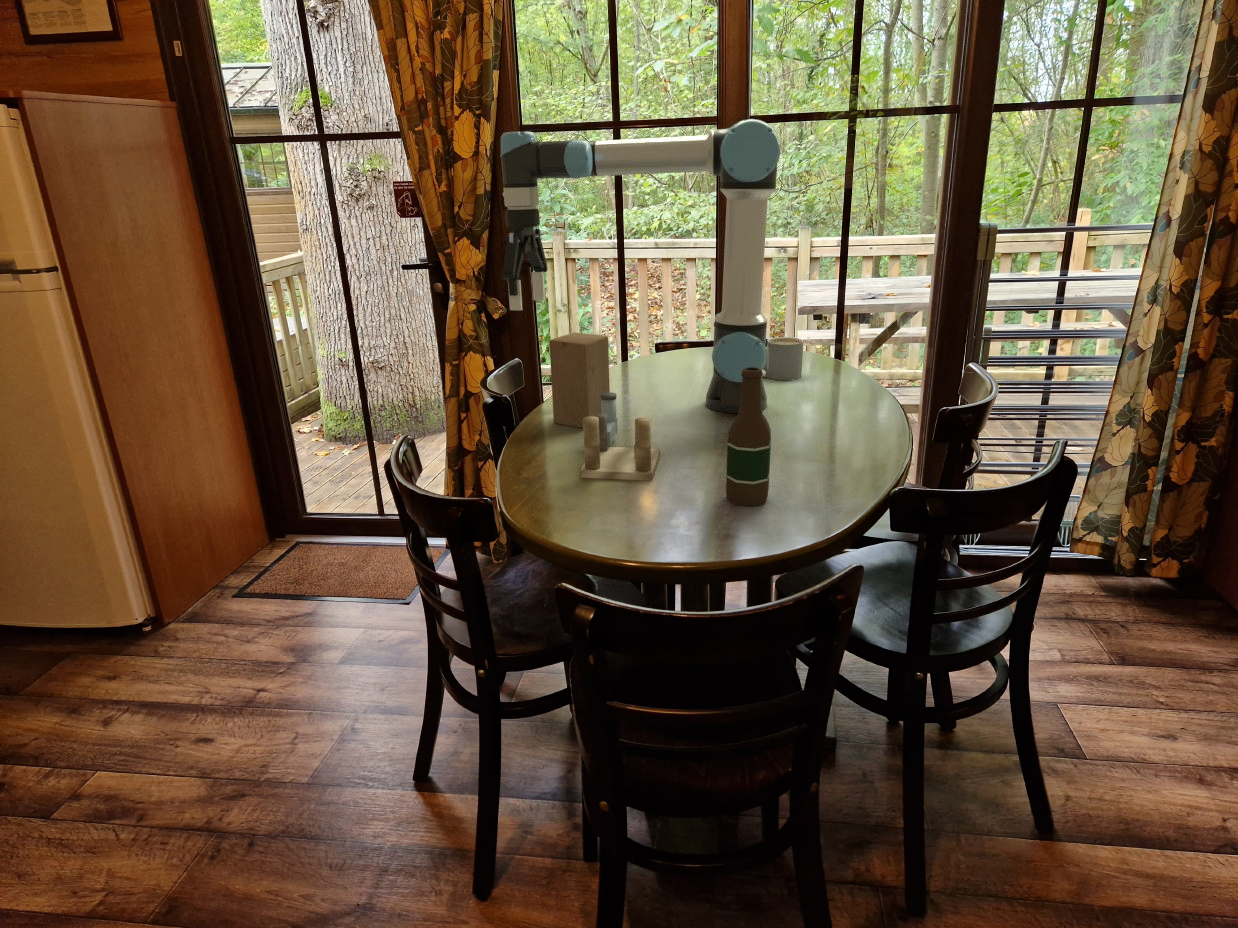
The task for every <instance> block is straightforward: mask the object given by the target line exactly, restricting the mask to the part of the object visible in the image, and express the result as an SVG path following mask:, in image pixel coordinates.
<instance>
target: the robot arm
mask: <svg viewBox="0 0 1238 928" xmlns="http://www.w3.org/2000/svg"><path fill="white" fill-rule="evenodd" d="M535 135H536V134H535V133H534V132H532V131H509V132H507V131H506V132H504V133H502V135H501V136H500V154H499V156H500V161H501V163H500V165H501V173H502V185H503V187H502V188H503V192H502V196H503V199H504V200H503V201H504V207H506V208H507V209H505V211H504V217H505V218H504V219H505V225H506V227H507V228H512V232H506V233H505V243H506V244H505V252H504V259H503V260H504V261H503V265H502V267H503V268H502V275H501V277H502V280H503V281H507V285H508V286H507V287H508V302H509V304H508V305H509V311H523V297H522V295H523V294H522V284H521V282H522V281H521V279H519V278H520V274H521V269H522V264H523V261H524V256H526V255H527V256H526V257H527V259H528V261H529V263H530V266H531V268H532V270H533V271H532V272H531V283H532V284H531V285H532V299H533V300H532V301H546V293H545V291H546V290H545V277H544V276H545V274H544V272H548V263H547V258H546V254H545V250H544V246H543V242H542V239H541V230H540V228H536V227H539V226H540V224H541V223H540V222H541V219H540V218H541V217H540V210H539V209H538V208H537V207H538V206H539V205H540V200H539V187H538V186H539V185H538V183H539V182H538V179H541V180H542V179H543V180H544V179H574V180H575V179H582V178H589V177H603V176H607V177H609V176H626V175H627V176H628V175H630V176H631V175H652V174H653V175H654V174H672V173H673V174H674V173H675V174H676V173H678V174H679V173H697V172H698V173H699V172H700V173H701V172H702V173H703V172H707V173H709V174H710V175H711V176H712V177H713V176H714V177H716V176H718V177H719V176H720V177H719V179H720V180H719V181H720V183H719V191H720V192H721V193H722V194H723V195H724V196H725V198H726V209H725V213H726V214H725V233H724V250H723V251H724V253H723V255H724V256H723V257H724V258H723V275H722V276H723V277H722V279H723V280H722V297H721V299H722V300H721V301H722V302H721V311H720V312H719V313H716V314H715V316H714V322H713V346H712V347H713V349H712V352H711V360H712V361H711V362H712V363H713V373H712V377H711V379H710V383H709V386H708V389H707V392H706V395H705V405H706V407H707V408H708V409H710V410H712V411H716V412H721V413H727V414H728V413H729V414H738V413H739V408H740V400H741V390H742V379H743V377H742V376H741V373H742V370H743V369H744V368H748V367H756V368H759V369H762V370H763V367H764V365H765V363H766V359H767V352H766V348H765V347H767V328H768V327H767V326H768V319H767V317H766V316H764V314H763V313H762V312H761V311H762V297H763V295H762V294H763V284H764V283H763V282H764V267H765V266H764V264H765V248H766V233H767V232H766V231H767V216H768V215H767V214H768V202H769V201H768V199H769V198H770V196H771V195H772V194H773V193H774V192H775V191H776V188H777V178H778V177H777V176H778V162H779V159H780V157H781V142H780V139H779V136H778V134H777V132H776V131H775V129H774V128H773V126H772V125H770V124H768V122H766V121H763V120H761V119H755V118H749V119H743V120H740V121H738V122H736V123H734V124H733V125H732V126H731V127H728V128H720V129H712V130H711V131H709V133H708V134H704V135H702V134H701V135H684V136H683V135H682V136H667V137H666V136H665V137H650V138H649V137H648V138H629V139H626V138H625V139H610V140H608V139H607V140H596V141H595V140H594V141H593V140H579V139H571V140H555V141H554V140H550V141H542V140H541V141H540V140H539V141H538V140H537V138H536V136H535ZM762 377H763V376H762ZM762 377H761V403H762V410H765V408H767V407H768V395H767V392H766V389H765V385H764V381H763V378H762Z"/></svg>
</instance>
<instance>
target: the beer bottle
mask: <svg viewBox="0 0 1238 928" xmlns="http://www.w3.org/2000/svg"><path fill="white" fill-rule="evenodd" d="M741 376H742V377H743V379H742V390H741V400H740V408H739V413H737V415H736V416H735V418H734V420H733V421H732V423H731V425H730V428H729V430H728V434H727V435H728V436H727V445H726V446H727V449H726V450H727V451H726V485H725V487H726V488H725V491H726V492H725V494H726V495H725V496H726V501H727V502H729V503H732V504H734V506H738V507H739V506H740V507H749V508H753V507H757V506H761V505H765V504H766V502H767V499H768V497H769V489H770V473H771V471H770V470H771V449H772V429H771V427H770V424H769V421H768V420H767V418H766V416H765V415H764V412H763V409H762V403H761V377H763V376H764V372H763V369H759V368H756V367H748V368H744V369H743V370H742V373H741Z"/></svg>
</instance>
